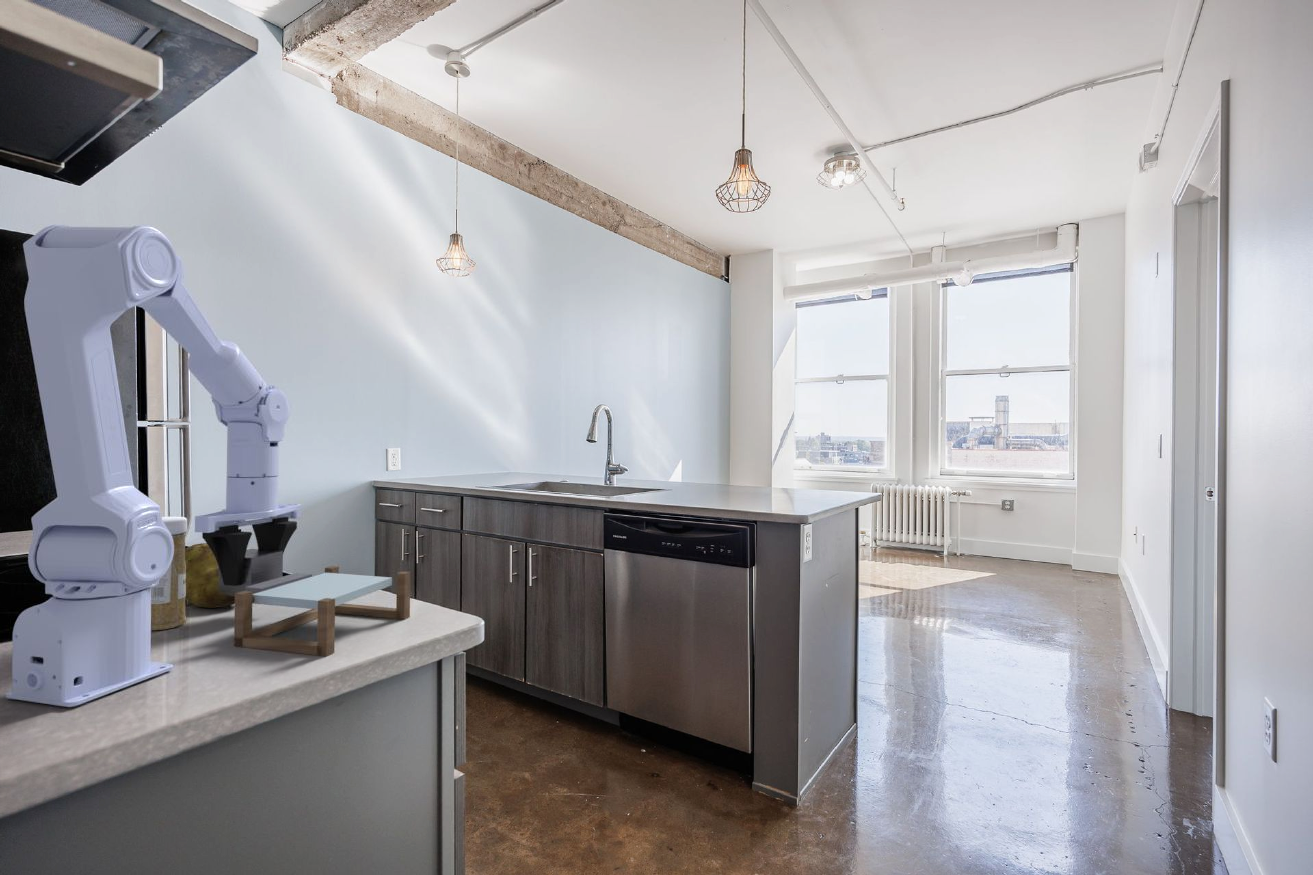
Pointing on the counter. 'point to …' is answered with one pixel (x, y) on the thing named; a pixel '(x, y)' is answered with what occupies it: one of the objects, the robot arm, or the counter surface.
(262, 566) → the iron block
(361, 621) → the counter surface
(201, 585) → the potato
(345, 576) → the trapdoor
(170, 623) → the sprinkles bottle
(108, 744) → the counter surface
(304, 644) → the frame
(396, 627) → the counter surface
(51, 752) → the counter surface
